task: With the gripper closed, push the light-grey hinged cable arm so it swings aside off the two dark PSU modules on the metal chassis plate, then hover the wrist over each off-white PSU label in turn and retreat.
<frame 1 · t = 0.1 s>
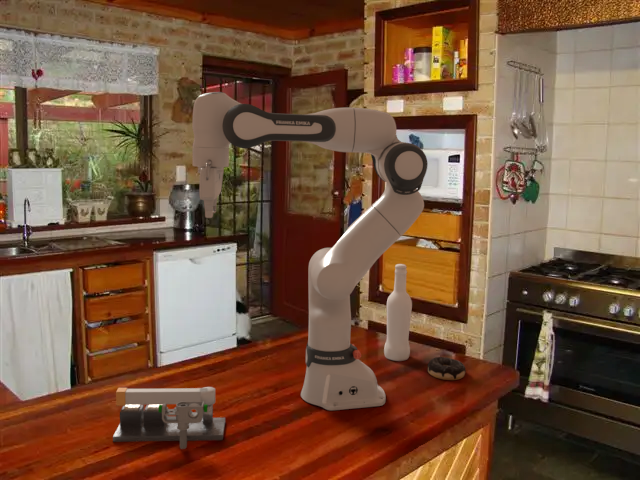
hand: (210, 215, 155), 48 cm above the counter, fingers open, 8 cm apart
donut: (445, 374, 184), on the counter
mechanical component: (183, 448, 136), on the counter
chassis: (171, 431, 143), on the counter
psu a: (155, 426, 145), resting on chassis
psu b: (132, 427, 144), resting on chassis
bottle: (396, 357, 197), on the counter
cable arm: (166, 396, 144), point 7 cm above the counter, hinge at 0.0°
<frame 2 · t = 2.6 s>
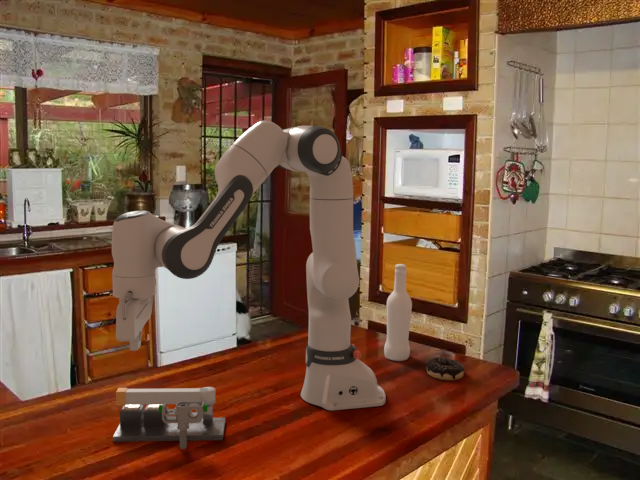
hand: (135, 348, 136), 21 cm above the counter, fingers closed
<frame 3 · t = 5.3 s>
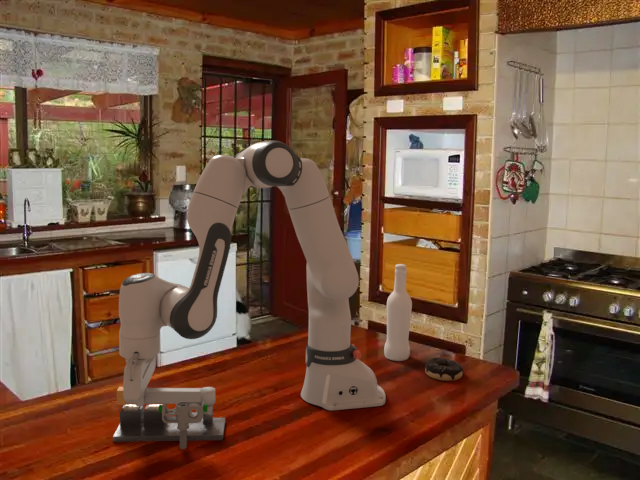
hand: (140, 404, 142), 7 cm above the counter, fingers closed
cable arm: (166, 395, 144), point 7 cm above the counter, hinge at -1.9°, touching gripper
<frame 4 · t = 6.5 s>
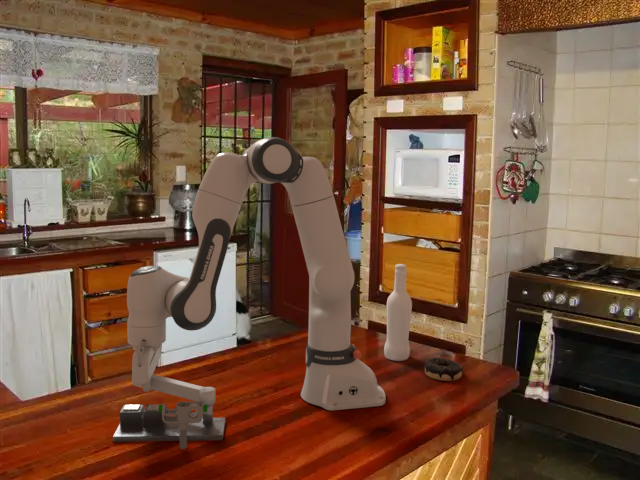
hand: (147, 389, 150), 7 cm above the counter, fingers closed
cable arm: (176, 387, 149), point 8 cm above the counter, hinge at -32.2°, touching gripper
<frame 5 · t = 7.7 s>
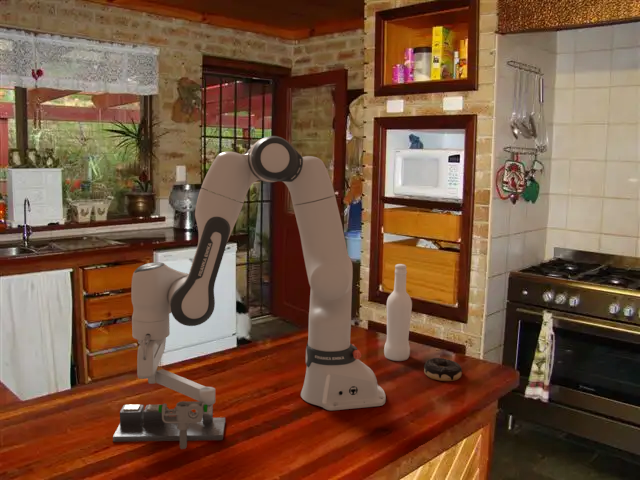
hand: (152, 382, 154), 7 cm above the counter, fingers closed
cable arm: (182, 385, 151), point 7 cm above the counter, hinge at -44.4°, touching gripper
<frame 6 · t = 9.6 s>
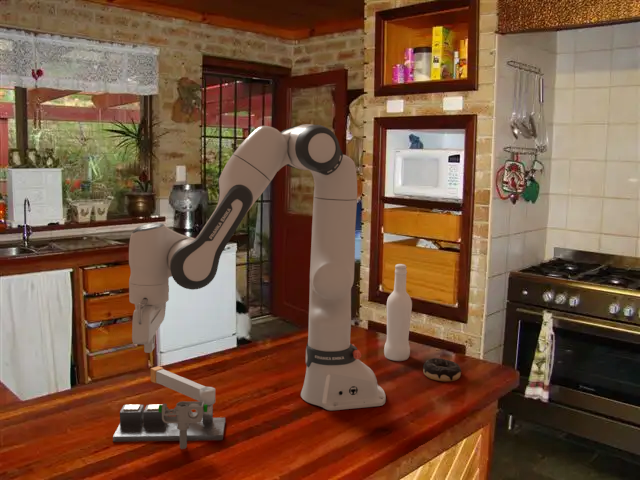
hand: (149, 350, 146), 17 cm above the counter, fingers closed
cable arm: (182, 385, 151), point 7 cm above the counter, hinge at -44.6°
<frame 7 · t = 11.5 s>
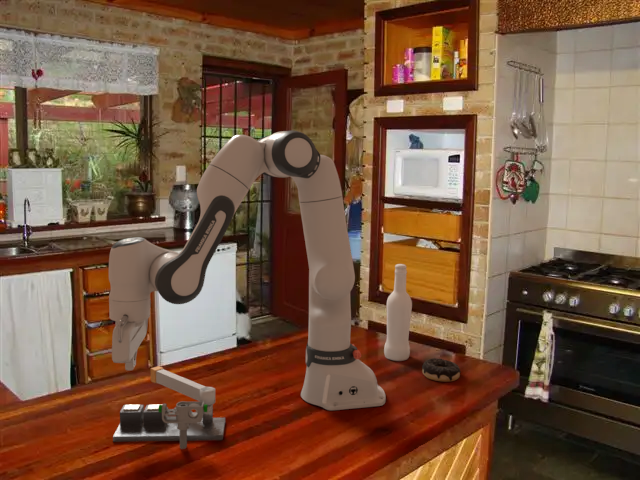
hand: (130, 368, 142), 14 cm above the counter, fingers closed
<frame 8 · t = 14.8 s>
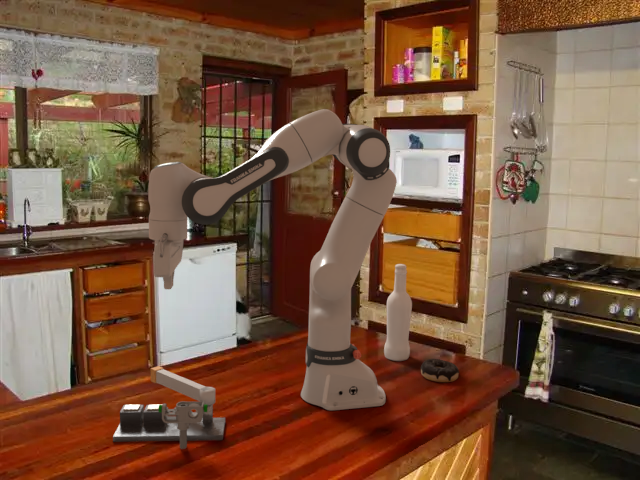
hand: (168, 288, 149), 31 cm above the counter, fingers closed
at the end: cable arm at -45° (first picture: +0°); cable arm touching nothing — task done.
